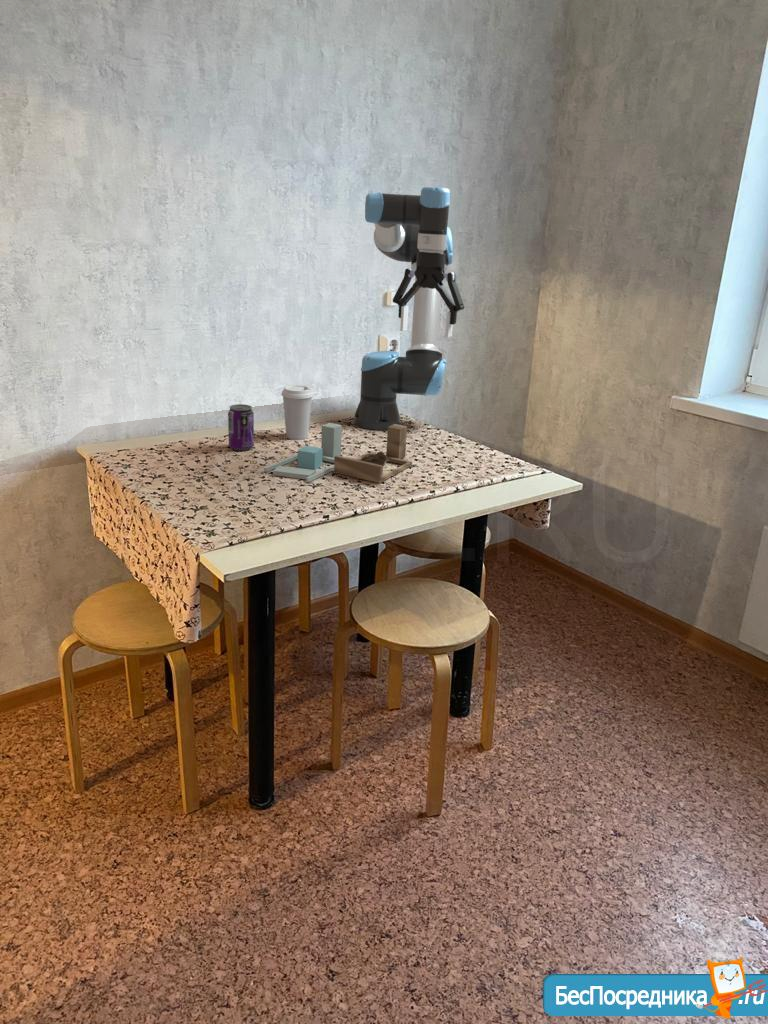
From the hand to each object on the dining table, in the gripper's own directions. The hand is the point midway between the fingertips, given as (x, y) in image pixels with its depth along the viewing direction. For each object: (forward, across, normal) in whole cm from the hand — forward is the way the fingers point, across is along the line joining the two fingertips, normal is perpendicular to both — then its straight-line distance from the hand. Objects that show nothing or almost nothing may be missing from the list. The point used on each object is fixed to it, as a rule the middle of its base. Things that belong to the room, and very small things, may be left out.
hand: (425, 333), depth 209 cm
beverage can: (+35, -44, -25) cm, 61 cm away
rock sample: (+35, -6, -20) cm, 41 cm away
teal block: (+35, -19, -27) cm, 48 cm away
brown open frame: (+34, -4, -16) cm, 38 cm away
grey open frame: (+34, -19, -26) cm, 47 cm away
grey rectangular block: (+35, -18, -35) cm, 53 cm away
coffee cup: (+35, -38, -6) cm, 52 cm away
